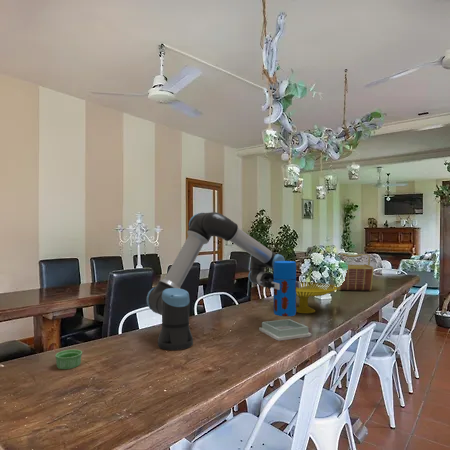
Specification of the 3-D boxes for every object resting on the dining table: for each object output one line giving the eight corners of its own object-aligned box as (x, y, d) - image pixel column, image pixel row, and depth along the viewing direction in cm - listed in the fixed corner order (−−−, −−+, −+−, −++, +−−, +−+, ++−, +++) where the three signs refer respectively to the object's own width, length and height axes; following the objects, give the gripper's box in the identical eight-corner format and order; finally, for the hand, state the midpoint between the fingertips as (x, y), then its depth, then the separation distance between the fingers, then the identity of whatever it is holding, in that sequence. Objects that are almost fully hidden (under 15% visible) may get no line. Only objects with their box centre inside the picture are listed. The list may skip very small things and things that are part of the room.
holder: (278, 340, 159) (278, 331, 159) (259, 330, 176) (259, 321, 176) (311, 336, 166) (311, 327, 166) (290, 326, 182) (290, 318, 183)
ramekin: (86, 365, 129) (86, 353, 130) (60, 372, 123) (60, 359, 123) (76, 359, 136) (76, 347, 136) (51, 365, 130) (51, 353, 130)
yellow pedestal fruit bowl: (322, 322, 191) (322, 294, 191) (258, 311, 215) (258, 287, 215) (347, 309, 223) (347, 285, 223) (289, 301, 247) (289, 279, 248)
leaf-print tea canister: (296, 317, 165) (296, 263, 165) (273, 315, 167) (272, 262, 167) (296, 311, 175) (296, 261, 176) (274, 310, 177) (274, 260, 178)
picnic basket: (365, 287, 309) (365, 253, 309) (375, 292, 283) (375, 255, 284) (331, 286, 312) (331, 252, 312) (337, 291, 286) (337, 254, 286)
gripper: (285, 285, 192) (310, 292, 172) (246, 288, 183) (267, 295, 163) (285, 271, 192) (309, 276, 172) (246, 273, 183) (267, 279, 163)
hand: (289, 285), depth 167 cm, fingers closed on leaf-print tea canister, 11 cm apart
